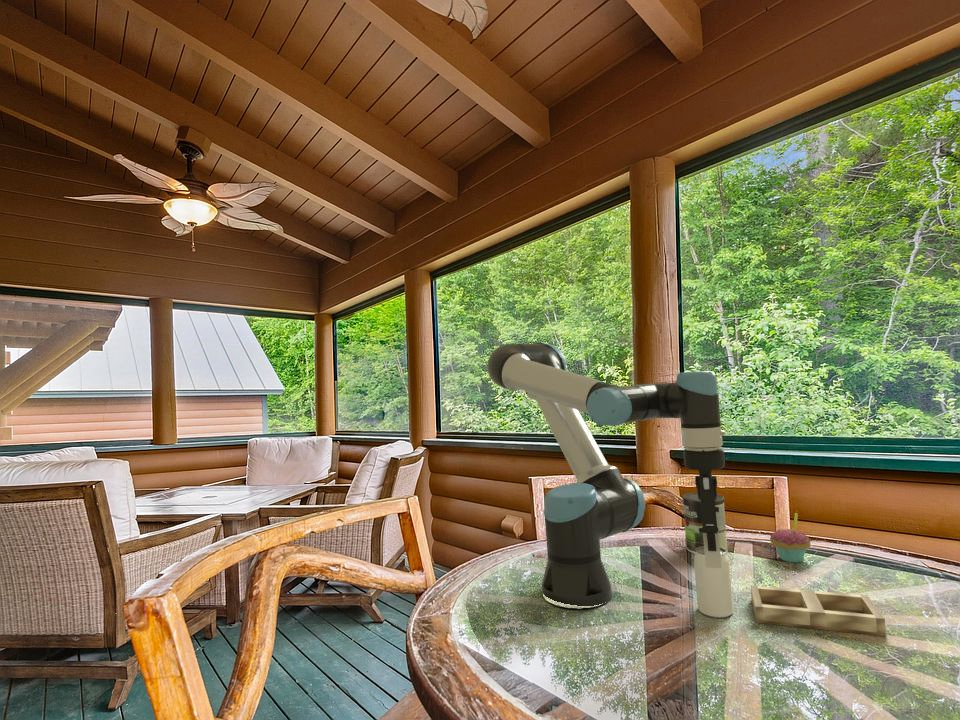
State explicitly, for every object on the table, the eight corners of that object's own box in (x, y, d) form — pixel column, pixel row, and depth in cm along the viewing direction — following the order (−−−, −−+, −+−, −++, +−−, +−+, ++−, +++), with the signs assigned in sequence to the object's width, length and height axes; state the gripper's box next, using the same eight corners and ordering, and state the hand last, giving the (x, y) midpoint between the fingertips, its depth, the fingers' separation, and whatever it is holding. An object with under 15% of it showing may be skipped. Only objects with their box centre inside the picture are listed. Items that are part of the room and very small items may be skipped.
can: (737, 619, 100) (732, 556, 100) (701, 618, 101) (696, 555, 102) (728, 604, 106) (723, 545, 107) (694, 603, 108) (690, 545, 108)
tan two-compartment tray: (756, 622, 98) (755, 606, 98) (751, 600, 108) (750, 585, 108) (886, 636, 91) (884, 618, 91) (868, 611, 100) (867, 595, 100)
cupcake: (812, 556, 130) (807, 507, 130) (812, 567, 122) (807, 515, 123) (772, 551, 134) (768, 504, 135) (770, 562, 127) (766, 512, 127)
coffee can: (698, 558, 133) (694, 502, 133) (679, 545, 143) (675, 494, 143) (736, 554, 134) (732, 499, 134) (714, 542, 144) (710, 490, 144)
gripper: (726, 457, 92) (738, 580, 91) (721, 439, 115) (730, 537, 114) (681, 457, 95) (691, 576, 94) (684, 440, 118) (693, 535, 117)
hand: (712, 555), depth 104 cm, fingers open, 13 cm apart
